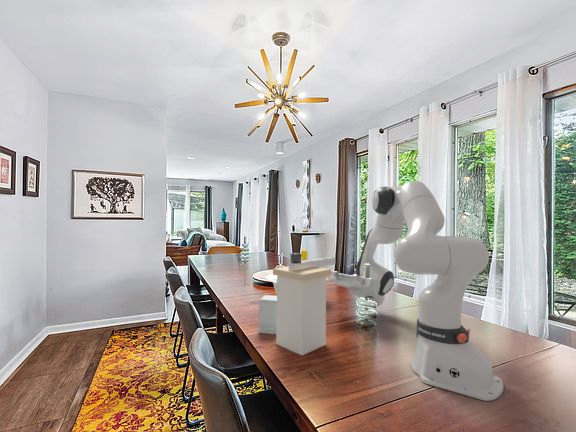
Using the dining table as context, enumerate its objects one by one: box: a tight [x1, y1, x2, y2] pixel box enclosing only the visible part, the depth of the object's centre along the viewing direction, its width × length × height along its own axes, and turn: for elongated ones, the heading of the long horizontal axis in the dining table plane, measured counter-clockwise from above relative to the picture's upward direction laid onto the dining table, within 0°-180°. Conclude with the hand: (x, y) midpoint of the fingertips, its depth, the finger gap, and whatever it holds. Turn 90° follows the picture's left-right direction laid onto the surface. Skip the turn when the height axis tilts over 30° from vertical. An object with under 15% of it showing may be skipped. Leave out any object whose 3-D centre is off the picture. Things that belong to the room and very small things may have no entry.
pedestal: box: [272, 265, 332, 356], centre depth 108 cm, size 14×14×26 cm
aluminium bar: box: [288, 252, 336, 271], centre depth 112 cm, size 4×22×6 cm, turn 135°
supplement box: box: [258, 294, 277, 335], centre depth 121 cm, size 7×7×13 cm
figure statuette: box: [301, 249, 308, 261], centre depth 200 cm, size 18×8×22 cm, turn 26°
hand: (344, 274), depth 126 cm, fingers open, 8 cm apart
